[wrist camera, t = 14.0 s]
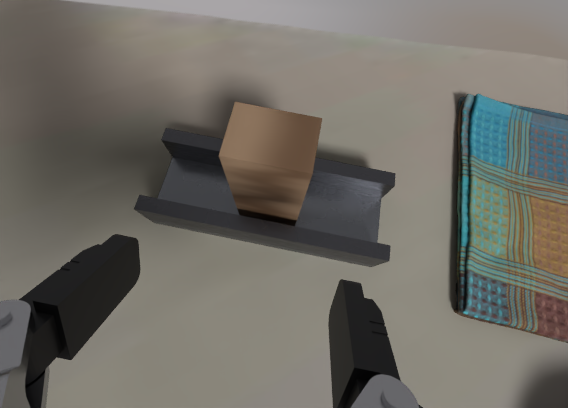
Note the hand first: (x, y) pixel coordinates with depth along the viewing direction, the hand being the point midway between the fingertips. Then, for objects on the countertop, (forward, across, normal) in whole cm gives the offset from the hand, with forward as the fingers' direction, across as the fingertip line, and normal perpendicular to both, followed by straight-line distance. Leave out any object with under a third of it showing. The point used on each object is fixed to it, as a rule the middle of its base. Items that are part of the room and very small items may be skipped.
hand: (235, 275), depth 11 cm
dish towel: (+19, -26, +2) cm, 32 cm away
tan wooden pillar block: (+14, 0, +4) cm, 15 cm away
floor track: (+15, 0, +4) cm, 16 cm away
